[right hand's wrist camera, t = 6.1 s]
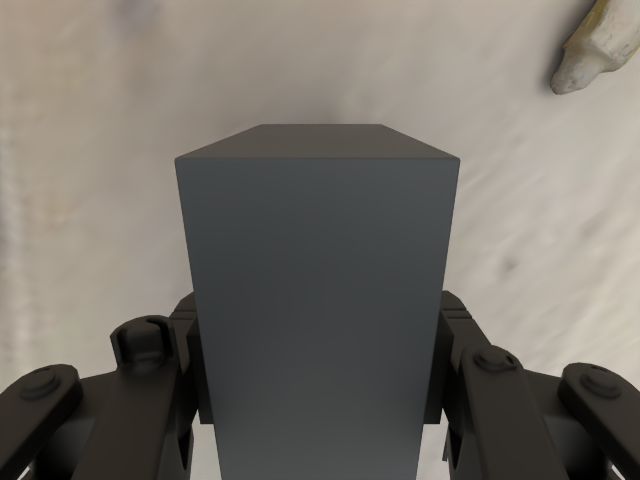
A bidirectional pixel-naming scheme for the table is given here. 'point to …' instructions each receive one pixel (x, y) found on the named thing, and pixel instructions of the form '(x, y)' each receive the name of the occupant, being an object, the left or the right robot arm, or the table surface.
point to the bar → (318, 295)
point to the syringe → (599, 44)
